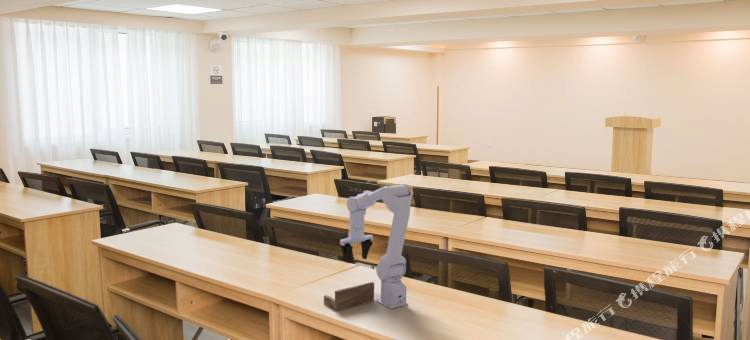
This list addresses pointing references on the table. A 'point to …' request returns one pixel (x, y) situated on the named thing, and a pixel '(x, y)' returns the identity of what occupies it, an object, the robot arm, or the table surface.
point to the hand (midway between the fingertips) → (356, 260)
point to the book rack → (351, 296)
